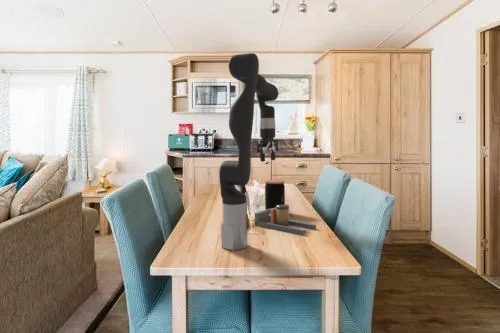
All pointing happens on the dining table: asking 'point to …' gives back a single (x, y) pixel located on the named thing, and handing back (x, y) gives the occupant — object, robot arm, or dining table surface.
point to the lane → (264, 218)
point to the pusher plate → (273, 215)
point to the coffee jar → (274, 193)
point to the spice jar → (282, 214)
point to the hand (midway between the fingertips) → (268, 160)
